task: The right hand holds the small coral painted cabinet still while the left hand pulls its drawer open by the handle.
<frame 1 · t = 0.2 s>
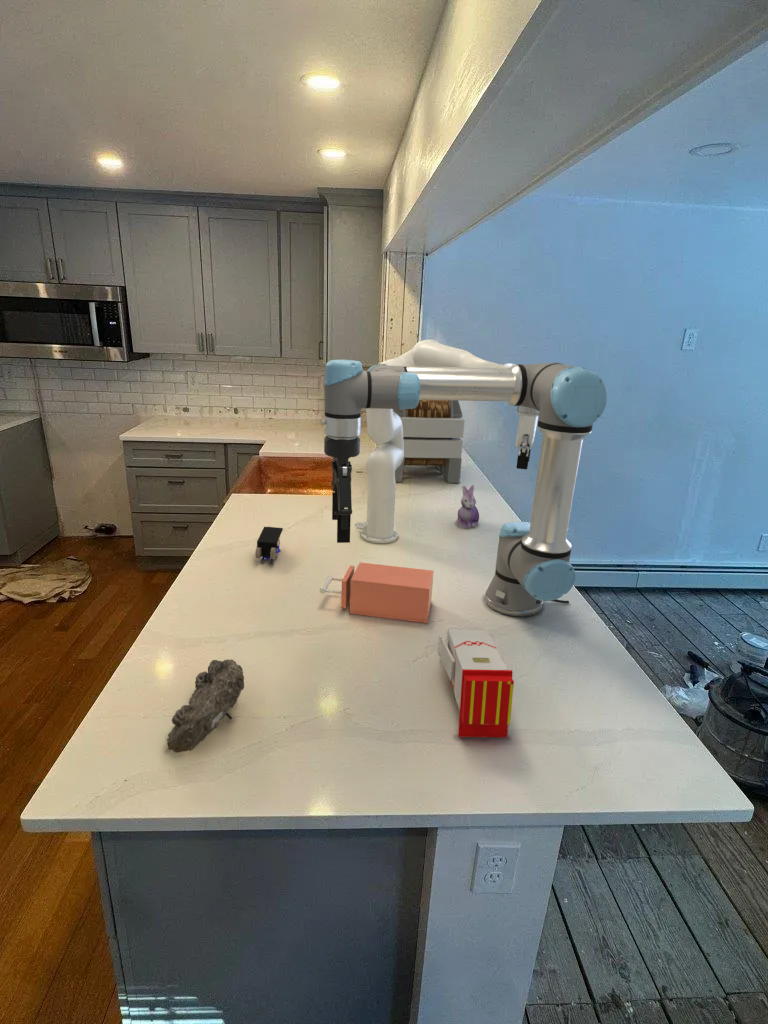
left hand: (522, 464, 174), 31 cm above the counter, tool pointing down, fingers open, 9 cm apart
right hand: (340, 530, 126), 28 cm above the counter, tool pointing down, fingers open, 13 cm apart
cabinet: (391, 608, 150), on the counter
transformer: (419, 473, 275), on the counter
toy: (469, 691, 119), on the counter
drawer: (369, 589, 149), point 5 cm above the counter, slide at 1.3 cm
fossil: (212, 717, 108), on the counter
figurine: (467, 524, 211), on the counter
figurine character: (269, 556, 177), on the counter
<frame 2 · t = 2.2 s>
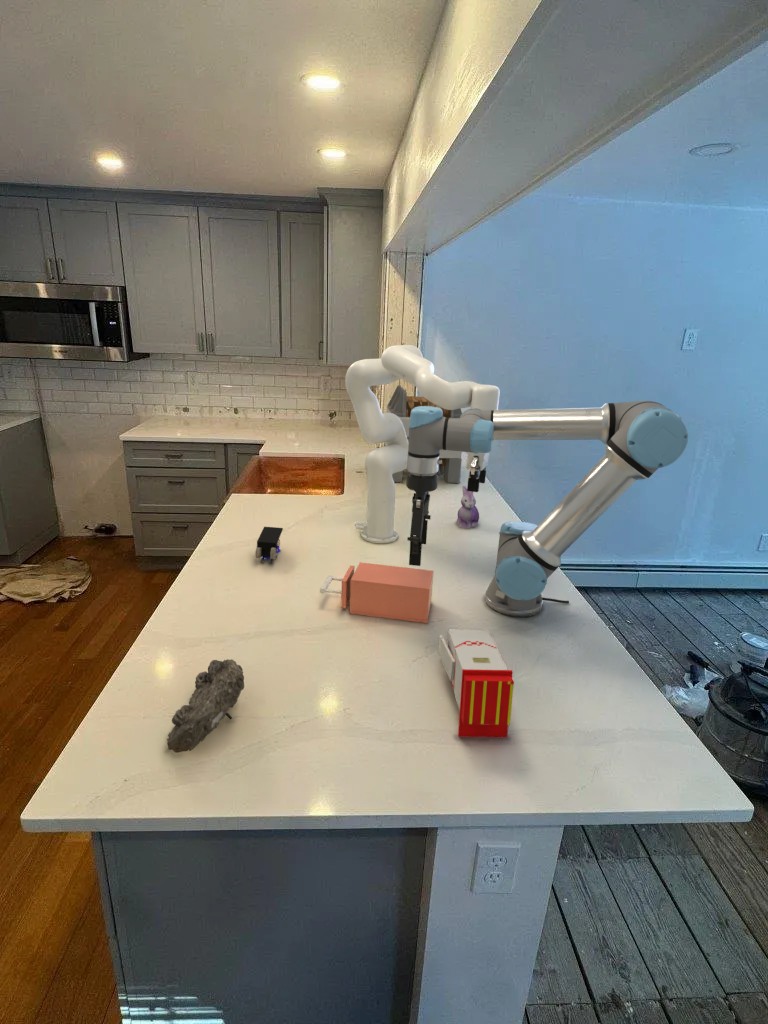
left hand: (476, 486, 167), 26 cm above the counter, tool pointing down, fingers open, 9 cm apart
right hand: (418, 553, 143), 17 cm above the counter, tool pointing down, fingers open, 13 cm apart
nothing on the counter moved.
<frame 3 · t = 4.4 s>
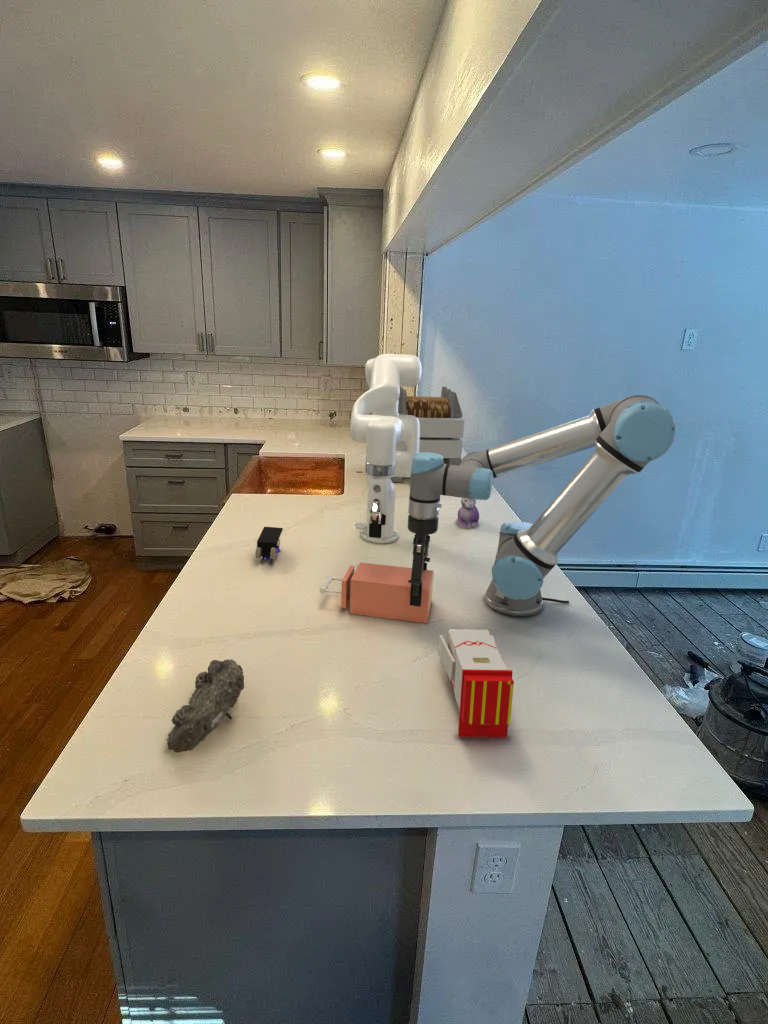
left hand: (377, 530, 153), 18 cm above the counter, tool pointing down, fingers open, 9 cm apart
right hand: (417, 594, 148), 5 cm above the counter, tool pointing down, fingers closed on cabinet, 11 cm apart
cabinet: (391, 608, 150), on the counter, touching right hand
everything else where it was.
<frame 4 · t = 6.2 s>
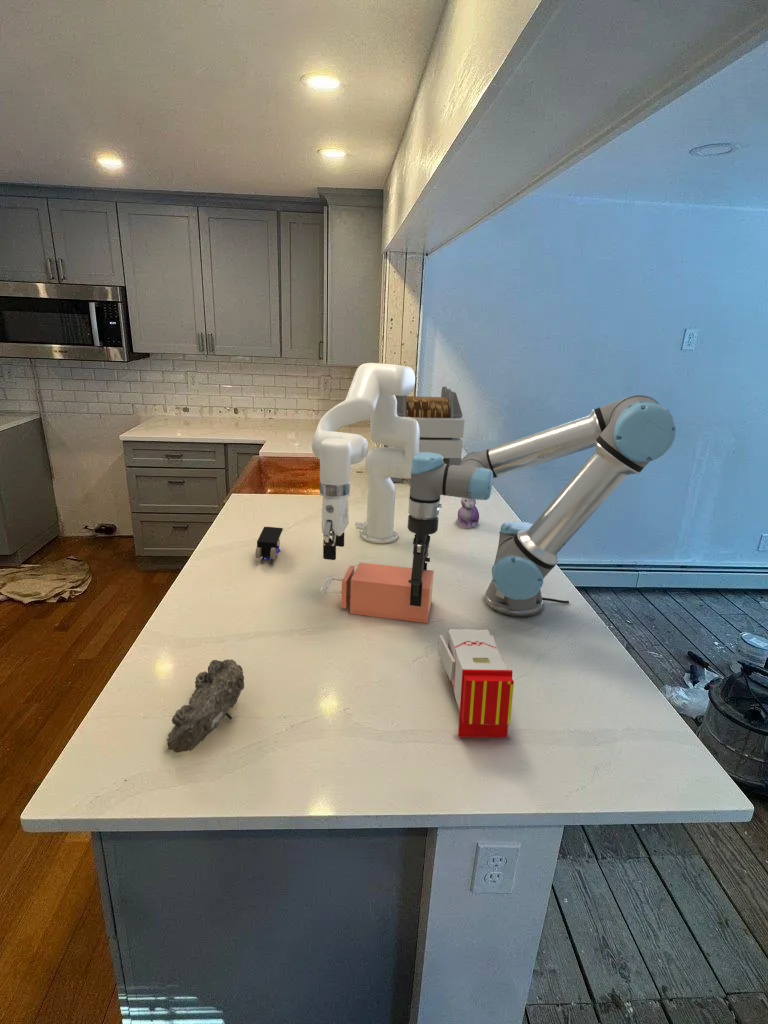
left hand: (333, 552, 148), 14 cm above the counter, tool pointing down, fingers open, 8 cm apart
right hand: (417, 594, 148), 5 cm above the counter, tool pointing down, fingers closed on cabinet, 11 cm apart
cabinet: (391, 608, 150), on the counter, touching right hand
everything else where it was.
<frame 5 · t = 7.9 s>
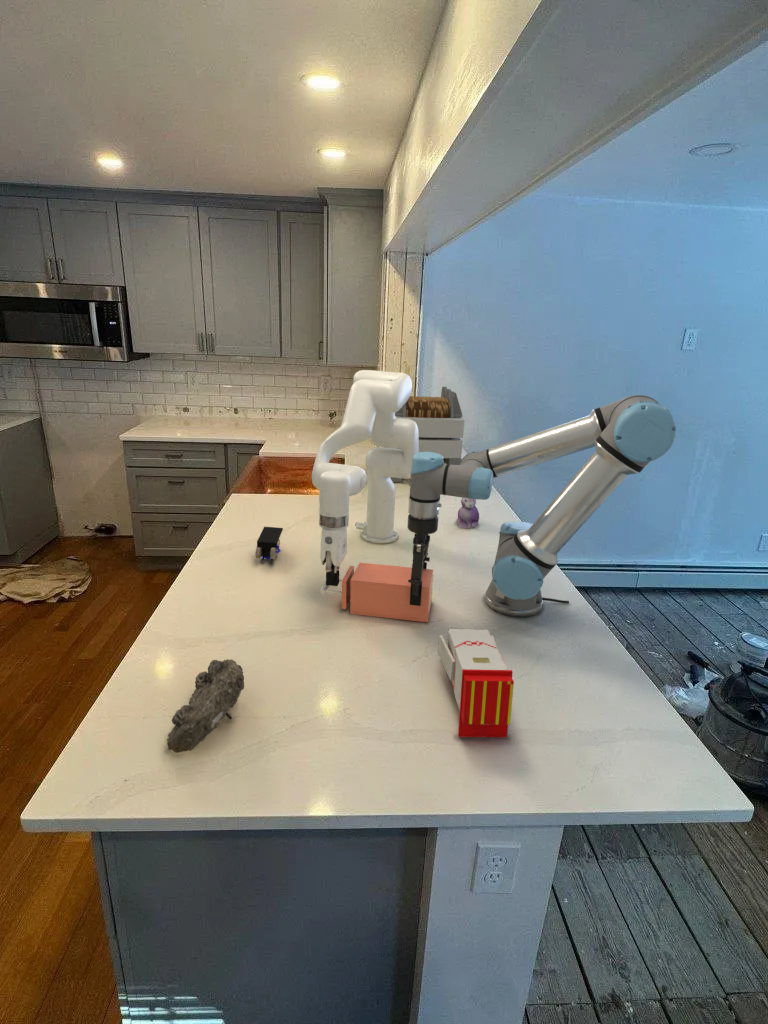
left hand: (332, 584, 150), 5 cm above the counter, tool pointing down, fingers closed
right hand: (417, 594, 148), 5 cm above the counter, tool pointing down, fingers closed on cabinet, 11 cm apart
cabinet: (391, 607, 150), on the counter, touching right hand
drawer: (369, 589, 149), point 5 cm above the counter, slide at 1.3 cm, touching left hand
everything else where it was.
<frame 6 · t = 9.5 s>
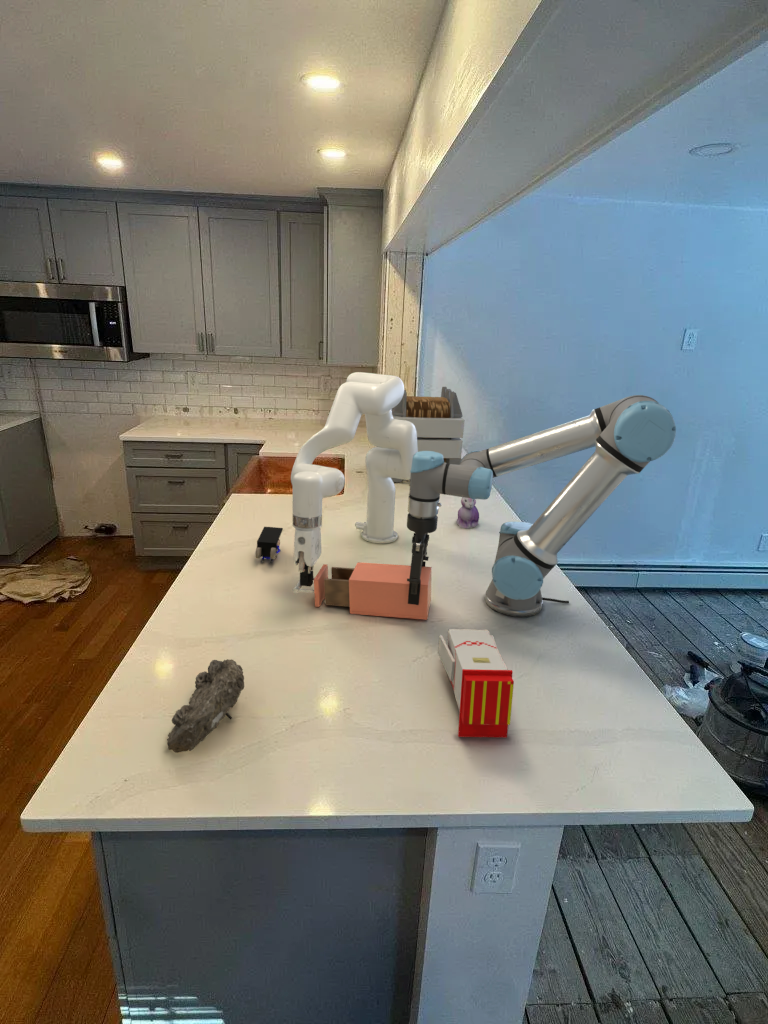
left hand: (306, 584, 151), 4 cm above the counter, tool pointing down, fingers closed
right hand: (416, 593, 148), 5 cm above the counter, tool pointing down, fingers closed on cabinet, 11 cm apart
cabinet: (391, 606, 150), on the counter, touching right hand
drawer: (342, 586, 151), point 5 cm above the counter, slide at 8.2 cm, touching left hand
everything else where it was.
when the right hand's fingers open (5 cm above the counter, at t = 11.4 s): cabinet stays where it is, on the counter.
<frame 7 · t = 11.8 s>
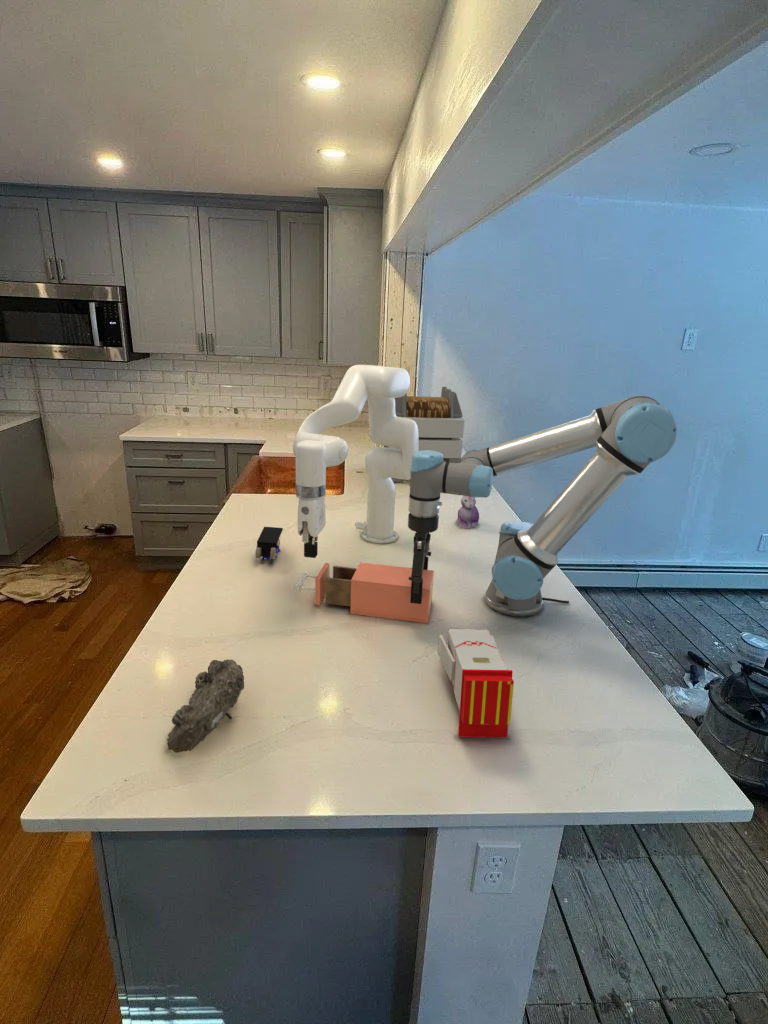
left hand: (310, 556, 149), 12 cm above the counter, tool pointing down, fingers closed
right hand: (418, 590, 147), 6 cm above the counter, tool pointing down, fingers open, 13 cm apart
cabinet: (391, 608, 150), on the counter
drawer: (343, 586, 150), point 5 cm above the counter, slide at 8.3 cm
everything else where it was.
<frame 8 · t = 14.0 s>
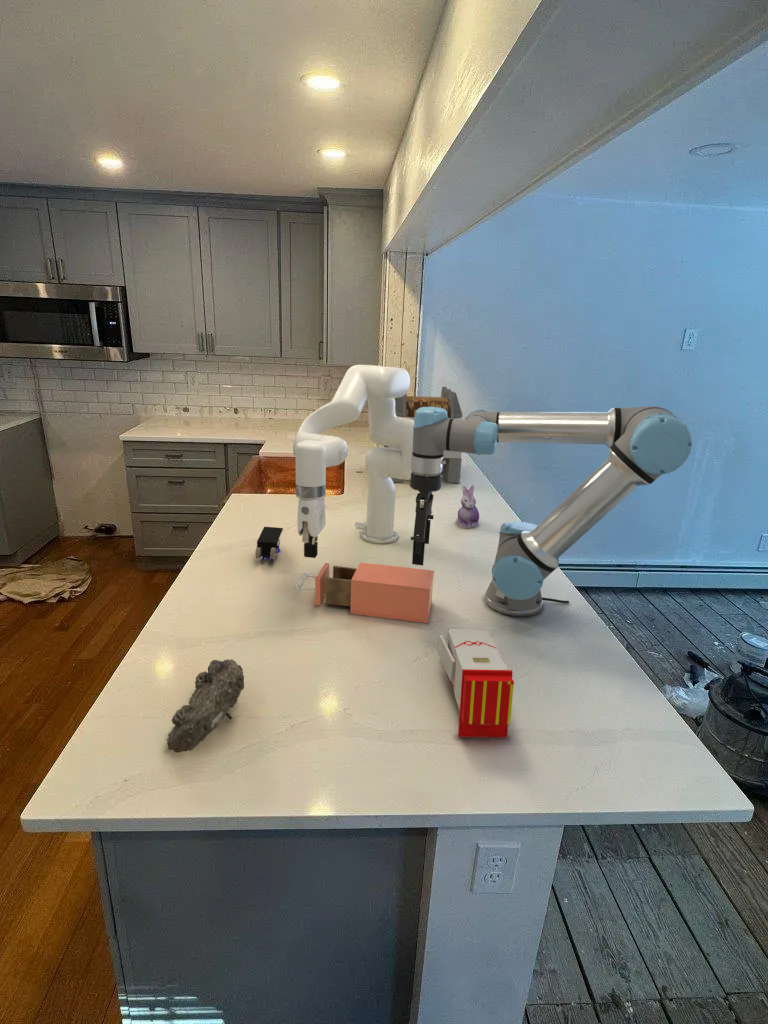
left hand: (310, 556, 149), 12 cm above the counter, tool pointing down, fingers closed
right hand: (420, 553, 144), 17 cm above the counter, tool pointing down, fingers open, 13 cm apart
nothing on the counter moved.
at the end: drawer slide at 8.3 cm; cabinet tilted 0°; cabinet never tilted more than 3° during the clip; cabinet moved 0.1 cm from its start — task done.
